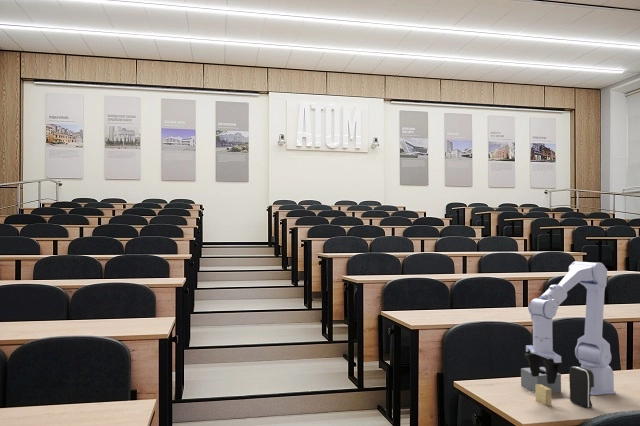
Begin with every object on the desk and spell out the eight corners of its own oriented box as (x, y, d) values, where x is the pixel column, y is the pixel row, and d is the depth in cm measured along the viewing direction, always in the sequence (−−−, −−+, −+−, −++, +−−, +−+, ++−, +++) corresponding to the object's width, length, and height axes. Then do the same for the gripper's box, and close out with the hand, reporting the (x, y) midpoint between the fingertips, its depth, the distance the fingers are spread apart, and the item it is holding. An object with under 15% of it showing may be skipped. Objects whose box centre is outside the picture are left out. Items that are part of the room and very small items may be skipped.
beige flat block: (541, 399, 157) (540, 384, 158) (551, 405, 153) (551, 389, 153) (535, 400, 157) (535, 384, 157) (546, 405, 152) (545, 389, 152)
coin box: (543, 383, 174) (543, 366, 174) (561, 392, 165) (560, 374, 165) (521, 385, 172) (520, 368, 172) (537, 393, 163) (537, 375, 163)
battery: (596, 407, 150) (595, 370, 151) (586, 408, 149) (586, 371, 150) (578, 400, 157) (577, 364, 158) (568, 401, 156) (568, 365, 156)
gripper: (517, 332, 162) (517, 373, 161) (546, 342, 148) (547, 387, 147) (536, 331, 163) (536, 372, 163) (567, 341, 149) (567, 386, 149)
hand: (543, 379), depth 155 cm, fingers open, 7 cm apart
